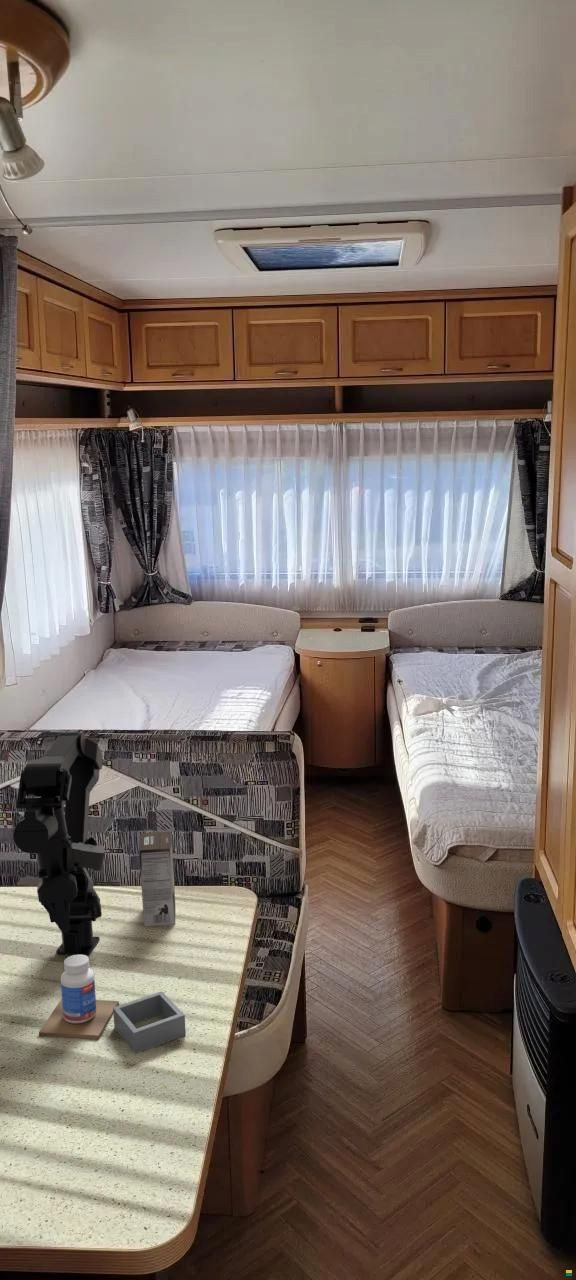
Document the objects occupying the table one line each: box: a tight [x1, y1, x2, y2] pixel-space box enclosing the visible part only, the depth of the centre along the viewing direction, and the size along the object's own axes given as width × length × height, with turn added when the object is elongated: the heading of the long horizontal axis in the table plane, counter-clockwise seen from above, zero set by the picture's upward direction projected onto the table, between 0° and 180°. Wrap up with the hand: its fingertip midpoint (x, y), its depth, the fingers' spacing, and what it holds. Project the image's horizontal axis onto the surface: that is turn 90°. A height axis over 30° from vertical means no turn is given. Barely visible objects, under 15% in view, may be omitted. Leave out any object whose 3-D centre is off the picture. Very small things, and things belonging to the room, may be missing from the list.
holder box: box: [112, 990, 187, 1055], centre depth 155 cm, size 9×9×4 cm
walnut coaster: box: [38, 998, 120, 1040], centre depth 159 cm, size 10×10×1 cm
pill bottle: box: [60, 954, 97, 1024], centre depth 159 cm, size 6×5×10 cm
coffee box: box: [138, 831, 176, 927], centre depth 194 cm, size 9×6×16 cm
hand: (65, 923), depth 167 cm, fingers open, 9 cm apart
